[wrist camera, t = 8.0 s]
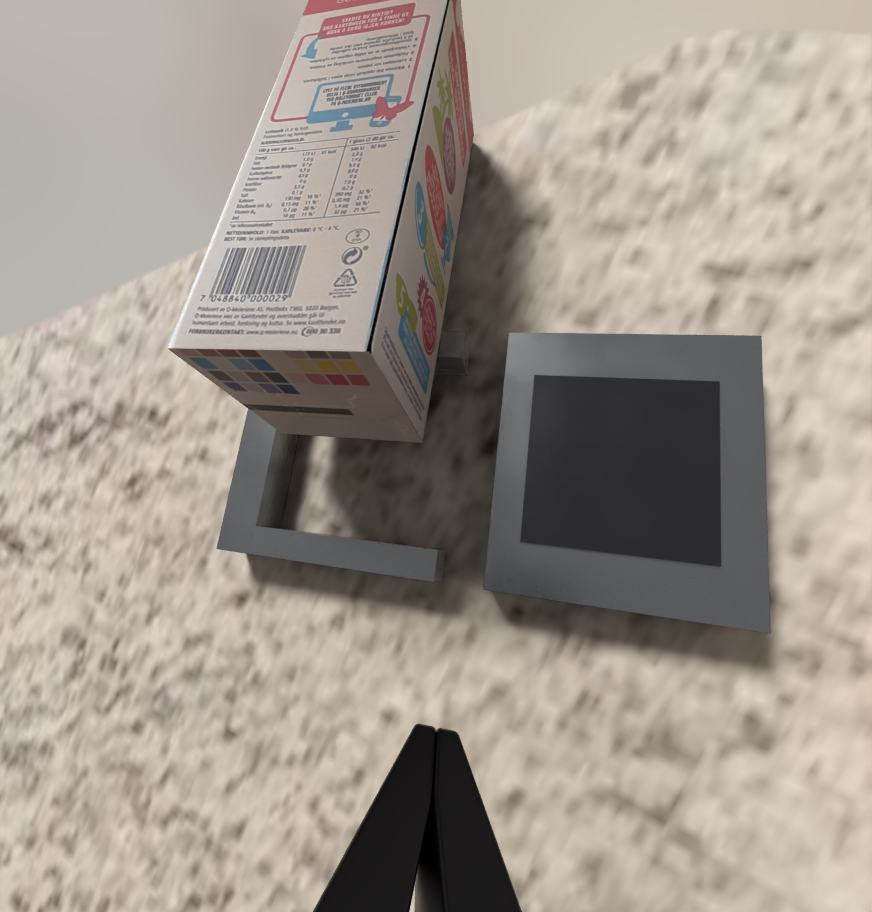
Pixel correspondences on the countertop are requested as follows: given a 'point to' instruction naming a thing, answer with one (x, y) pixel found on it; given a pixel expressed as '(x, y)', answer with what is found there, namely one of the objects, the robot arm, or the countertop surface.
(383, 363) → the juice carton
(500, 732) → the countertop surface
